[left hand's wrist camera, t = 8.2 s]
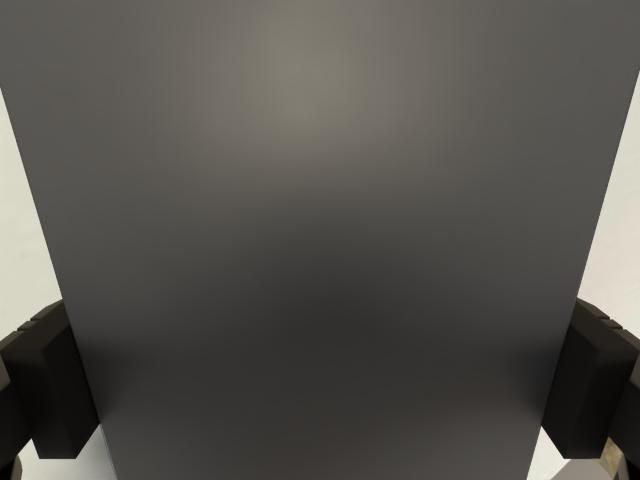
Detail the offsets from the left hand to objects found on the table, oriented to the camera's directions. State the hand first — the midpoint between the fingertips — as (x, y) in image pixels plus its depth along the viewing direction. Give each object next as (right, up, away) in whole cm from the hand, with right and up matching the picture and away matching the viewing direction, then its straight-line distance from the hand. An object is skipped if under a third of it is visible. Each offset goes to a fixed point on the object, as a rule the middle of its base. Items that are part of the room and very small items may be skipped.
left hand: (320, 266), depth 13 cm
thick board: (0, +30, -11) cm, 31 cm away
